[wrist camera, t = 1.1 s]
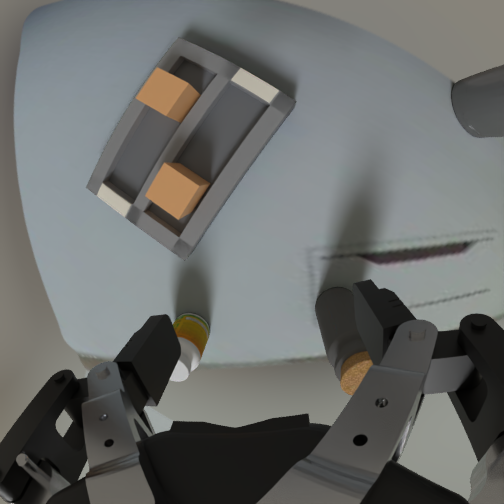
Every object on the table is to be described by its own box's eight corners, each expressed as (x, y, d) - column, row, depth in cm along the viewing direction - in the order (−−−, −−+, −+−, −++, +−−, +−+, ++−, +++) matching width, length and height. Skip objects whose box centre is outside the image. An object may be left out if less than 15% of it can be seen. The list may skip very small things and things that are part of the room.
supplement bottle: (182, 305, 38) (157, 344, 29) (216, 322, 38) (201, 365, 29) (170, 332, 40) (147, 372, 30) (202, 348, 40) (186, 392, 31)
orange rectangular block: (179, 163, 30) (164, 162, 25) (210, 183, 31) (199, 186, 26) (162, 191, 31) (144, 196, 27) (191, 212, 32) (178, 219, 27)
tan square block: (172, 79, 27) (156, 67, 23) (201, 95, 28) (188, 83, 23) (153, 106, 28) (135, 98, 24) (181, 123, 29) (166, 116, 24)
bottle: (308, 296, 36) (327, 369, 22) (349, 279, 35) (389, 344, 21) (322, 330, 38) (342, 407, 23) (360, 314, 37) (396, 385, 22)
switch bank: (186, 47, 28) (177, 36, 24) (294, 108, 30) (296, 101, 26) (100, 185, 34) (85, 187, 30) (192, 252, 36) (184, 261, 32)
